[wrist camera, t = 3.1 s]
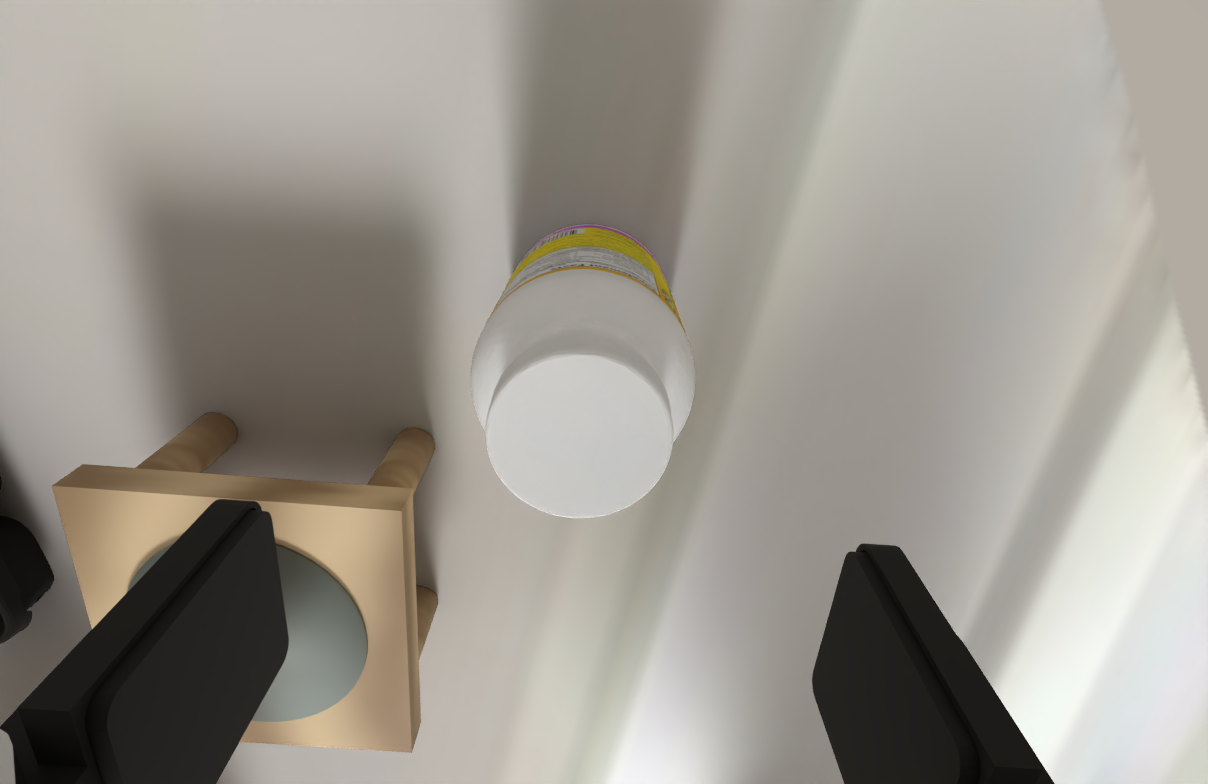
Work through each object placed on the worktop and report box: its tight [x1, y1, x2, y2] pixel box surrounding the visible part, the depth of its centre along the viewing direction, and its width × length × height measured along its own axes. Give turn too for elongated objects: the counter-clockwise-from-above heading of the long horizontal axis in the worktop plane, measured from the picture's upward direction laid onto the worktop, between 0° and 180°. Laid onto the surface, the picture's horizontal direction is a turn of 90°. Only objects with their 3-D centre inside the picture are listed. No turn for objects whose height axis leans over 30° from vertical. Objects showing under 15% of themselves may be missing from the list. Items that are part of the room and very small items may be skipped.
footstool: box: [52, 413, 438, 753], centre depth 29 cm, size 12×12×8 cm
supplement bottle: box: [471, 224, 695, 518], centre depth 23 cm, size 7×7×13 cm
